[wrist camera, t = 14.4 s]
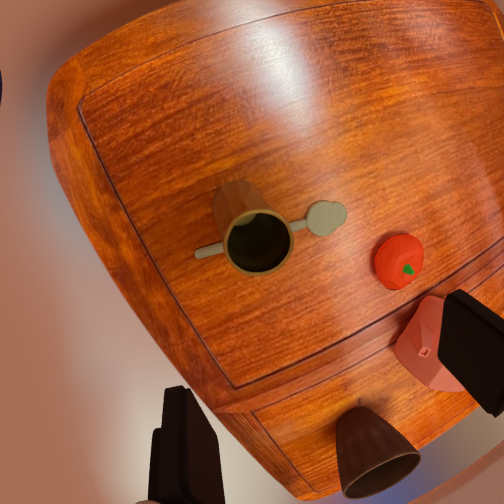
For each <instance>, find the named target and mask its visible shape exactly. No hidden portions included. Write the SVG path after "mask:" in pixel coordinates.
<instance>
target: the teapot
mask: <svg viewBox="0 0 504 504" xmlns="http://www.w3.org/2000/svg"><path fill="white" fill-rule="evenodd" d="M444 301H445V300H444V299H441V298H438V297H435V296H431V295H428V296H426V297H425V298H424V299H423V300H422V301H421V302H420V304H419V308H418V309H417V311H416V313H415V314H414V316H413V317H412V319H411V320H410V322H409V324H408V325H407V327H406V328H405V330H404V332H403V333H402V334H401V335H400V336H399V337H398V339H397V343H396V344H395V346H394V348H393V351H394V354H395V356H396V358H397V359H398V360H399V362H400V363H401V364H402V365H403V366H404V367H405V368H406V369H407V370H408V371H409V372H410V373H411V374H412V375H413V376H415V377H416V378H417V379H418V380H419V381H421V382H422V383H423V384H424V385H425V386H427V387H428V388H430V389H434V390H439V391H444V392H461V391H463V390H465V388H464V387H463V386H462V385H461V383H460V382H459V381H458V380H457V379H456V378H455V377H454V376H453V375H452V374H451V373H450V372H449V371H448V370H447V368H446V367H445V366H444V365H443V364H442V363H441V362H440V361H439V359H438V356H437V352H438V345H439V338H440V331H441V323H442V314H443V304H444Z"/></svg>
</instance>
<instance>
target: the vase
mask: <svg viewBox="0 0 504 504" xmlns="http://www.w3.org/2000/svg"><path fill="white" fill-rule="evenodd" d="M212 211H213V215H214V218H215V219H216V222H217V225H218V227H219V231H220V234H221V239H222V245H223V250H224V253H225V255H226V258H227V260H228V261H229V263H230V264H231V265H232V266H233V267H234V268H235V269H236V270H238V271H239V272H241V273H243V274H246V275H250V276H262V275H268V274H270V273H273V272H275V271H277V270H279V269H280V268H281V267H282V266H283V265H284V264H285V263H286V262H287V260H288V259H289V257H290V256H291V254H292V251H293V246H294V235H293V232H292V229H291V227H290V225H289V222H288V221H287V219H285V218H284V217H283V216H282V215H281V214H280V213H279V212H278V211H277V210H276V209H275V208H273V207H272V206H271V205H270V204H269V203H268V202H267V201H266V200H265V199H264V197H263V195H262V193H261V191H260V190H259V189H258V188H257V187H256V186H255V185H253V184H252V183H250V182H247V181H239V180H237V181H232V182H229V183H227V184H225V185H223V186H222V187H221V188H220V189H219V190H218V191H217V193H216V194H215V196H214V199H213V203H212Z"/></svg>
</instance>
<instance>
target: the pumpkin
mask: <svg viewBox="0 0 504 504" xmlns="http://www.w3.org/2000/svg"><path fill="white" fill-rule="evenodd" d="M423 260H424V253H423V245H422V243H421V242H420V241H419V240H418V239H417V238H415V237H414V236H411V235H408V234H403V235H397V236H393V237H391V238H389V239H388V240H387V241H386V242H384V243H383V244H382V245H381V247H380V249H379V250H378V252H377V254H376V257H375V269H376V274H377V276H378V279H379V280H380V281H381V283H382V284H383V285H384V286H385V287H386V288H387V289H388V290H389V289H393V290H400V289H402V288H404V287H405V286H407V285H408V284H410V283H411V282H412V281H413V280H414V279H415V278H416V277H417V275H418V274H419V273H420V272H421V270H422V267H423Z"/></svg>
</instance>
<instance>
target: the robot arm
mask: <svg viewBox="0 0 504 504" xmlns="http://www.w3.org/2000/svg"><path fill="white" fill-rule="evenodd" d="M437 356H438V359H439V361H440V362H441V363H442V364H443V365H444V366H445V367H446V368H447V370H448V371H449V372H450V373H451V374H452V375H453V376H454V377H455V378H456V379H457V380H458V381H459V382H460V383H461V385H462V386H463V387H464V388H465V389H466V390H467V391H468V392H469V393H470V394H471V396H472V397H473V398H474V399H475V400H476V401H477V402H478V403H479V404H480V406H481V407H482V408H483V409H484V410H485V411H486V412H487V413H489V414H492V415H493V416H494V417H495V418H496V417H497V416H498V415H500V414H501V413H502V412H503V411H504V319H503V318H501V317H500V316H499V315H497V314H496V313H494V312H493V311H492V310H490V309H489V308H488V307H486V306H485V305H483V304H482V303H481V302H479V301H478V300H476V299H475V298H473V297H472V296H471V295H469V294H468V293H466V292H465V291H463V290H461V289H458V290H456V291H454V292H452V293H450V294H448V295H447V296H446V299H445V301H444V304H443V314H442V323H441V331H440V338H439V345H438V352H437ZM136 504H225V496H224V488H223V480H222V472H221V463H220V453H219V443H218V439H217V435H216V433H215V431H214V430H213V428H212V427H211V425H210V423H209V421H208V419H207V418H206V416H205V414H204V413H203V411H202V409H201V407H200V406H199V404H198V402H197V400H196V398H195V397H194V395H193V393H192V391H191V389H190V388H187V389H185V388H184V387H183V386H182V385H180V386H175V387H171V388H166V389H165V392H164V402H163V414H162V425H161V428H156V429H155V430H154V431H153V435H152V445H151V457H150V470H149V485H148V500H145V501H140V502H138V503H136ZM407 504H504V440H503V441H502V442H501V443H500V444H498V445H497V446H496V447H495V448H494V449H492V450H491V451H490V452H488V453H487V454H486V455H484V456H483V457H482V458H480V459H479V460H477V461H476V462H475V463H473V464H472V465H470V466H469V467H468V468H466V469H465V470H463V471H462V472H460V473H459V474H457V475H456V476H454V477H453V478H451V479H449V480H448V481H446V482H444V483H443V484H441V485H440V486H438V487H436V488H435V489H433V490H431V491H429V492H427V493H426V494H424V495H422V496H420V497H418V498H417V499H415V500H413V501H411V502H409V503H407Z"/></svg>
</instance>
